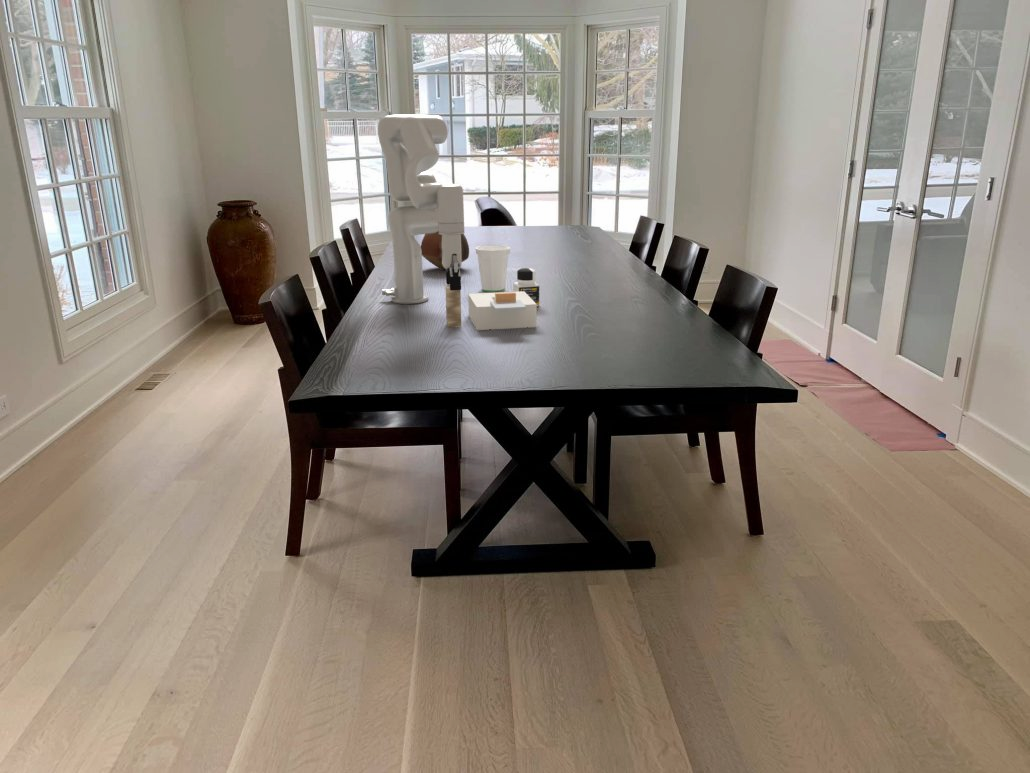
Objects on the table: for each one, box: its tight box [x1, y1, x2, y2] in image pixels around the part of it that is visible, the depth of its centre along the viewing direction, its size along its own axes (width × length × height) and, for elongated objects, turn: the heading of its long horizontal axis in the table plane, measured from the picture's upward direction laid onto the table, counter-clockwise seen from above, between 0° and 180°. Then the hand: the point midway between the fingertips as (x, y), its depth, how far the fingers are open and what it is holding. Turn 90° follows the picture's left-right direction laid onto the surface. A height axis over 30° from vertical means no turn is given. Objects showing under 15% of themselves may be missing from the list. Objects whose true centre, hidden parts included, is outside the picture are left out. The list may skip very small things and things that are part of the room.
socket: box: [467, 291, 538, 331], centre depth 231 cm, size 18×18×7 cm
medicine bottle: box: [512, 267, 540, 306], centre depth 250 cm, size 7×7×12 cm
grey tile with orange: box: [490, 291, 526, 311], centre depth 219 cm, size 9×9×3 cm
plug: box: [445, 284, 462, 328], centre depth 225 cm, size 4×4×14 cm
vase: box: [420, 231, 470, 271], centre depth 306 cm, size 25×20×30 cm
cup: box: [475, 244, 511, 293], centre depth 272 cm, size 12×12×15 cm
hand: (453, 287), depth 223 cm, fingers open, 9 cm apart
